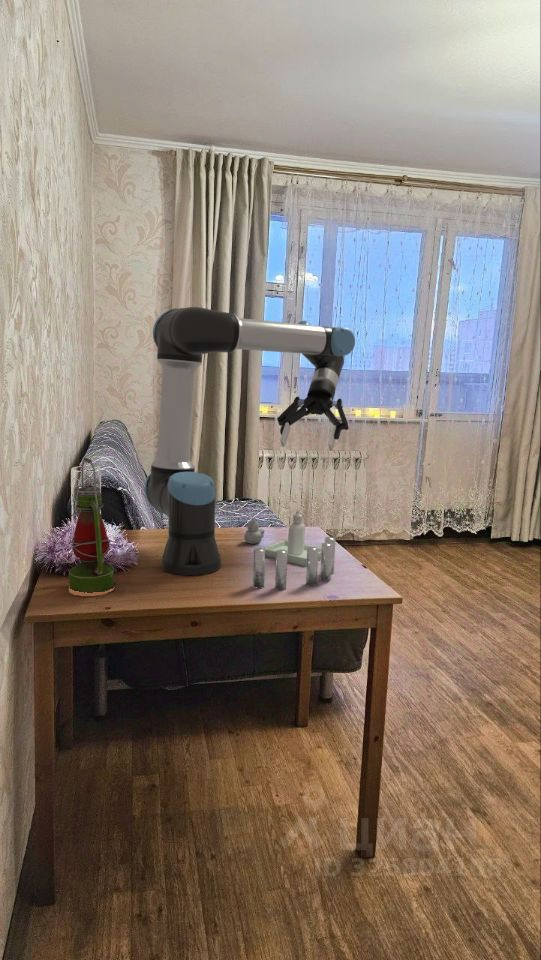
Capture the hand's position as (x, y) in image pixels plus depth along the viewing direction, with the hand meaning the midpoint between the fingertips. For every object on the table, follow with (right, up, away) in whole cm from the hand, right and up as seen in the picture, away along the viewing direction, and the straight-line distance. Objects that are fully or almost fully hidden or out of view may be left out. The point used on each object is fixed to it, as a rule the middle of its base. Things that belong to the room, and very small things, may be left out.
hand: (305, 445), depth 172 cm
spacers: (-3, -34, -18) cm, 39 cm away
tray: (-3, -30, 0) cm, 30 cm away
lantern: (-51, -34, -27) cm, 67 cm away
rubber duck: (-14, -28, +12) cm, 33 cm away
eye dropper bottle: (-3, -29, 0) cm, 30 cm away
